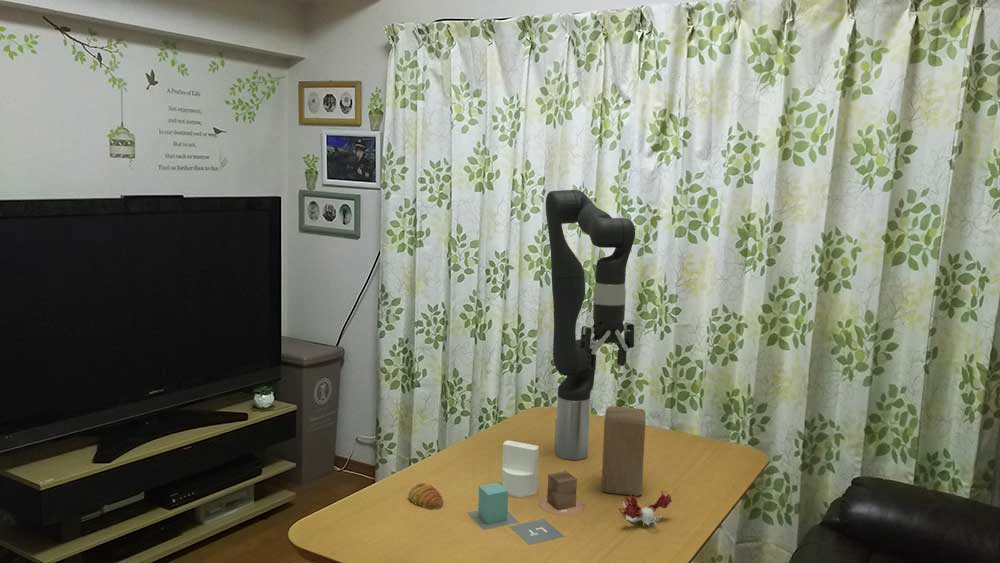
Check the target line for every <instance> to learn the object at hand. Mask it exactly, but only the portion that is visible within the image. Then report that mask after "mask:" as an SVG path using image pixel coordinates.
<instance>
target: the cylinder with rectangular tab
mask: <svg viewBox="0 0 1000 563" xmlns="http://www.w3.org/2000/svg"><path fill="white" fill-rule="evenodd" d="M539 450H540V448H539V445H535V444H529V443H525V442H519V441H513V440H506V441H504V442H503V444H502V469H501V470H502V474H501V475H502V476H501V485H502V486H503V487H504V488H505V489H506V490H508V496H511V497H518V498H519V497H520V498H524V497H531V496H533V495H535V494H536V493H537V492H538V487H539V486H538V484H539V481H538V480H539V454H540V452H539Z"/></svg>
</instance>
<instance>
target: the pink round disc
mask: <svg viewBox="0 0 1000 563" xmlns="http://www.w3.org/2000/svg"><path fill="white" fill-rule="evenodd" d="M538 506H539V508H540V509H541V510H542V511H544V512H546V513H547V514H551V515H555V516H574V515H577V514H580V513H582V512H583V511H584V510H585V503H584V501H583V500H581V498H579V497H576V507H572V508H567V509H563V510H557V509H555V508H554V507H553V506H552V505H550V504H549V503H548V502H547V495H545V496H543V497H541V498H540V499H539V501H538Z"/></svg>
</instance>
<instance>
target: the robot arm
mask: <svg viewBox="0 0 1000 563" xmlns="http://www.w3.org/2000/svg"><path fill="white" fill-rule="evenodd" d="M545 215H546V216H545V217H546V223H547V232H548V238H549V248H550V265H551V266H550V268H551V272H550V273H551V276H550V278H551V290H552V292H551V293H552V302H553V344H552V358H553V363H554V367H555V369H556V371H557V372H558V373H559V375H562V376H565V379H564V380H563V381H562V382H561V383H560V384H559V385H558V387H557V403H556V405H557V408H556V412H557V413H556V418H555V421H554V422H555V423H554V449H553V450H554V451H555V455H556V457H559V458H560V459H564V460H568V461H578V460H579V461H580V460H584V459H586V458H587V457H588V456H589V437H590V436H589V434H590V432H589V431H590V416H591V415H590V414H591V413H590V412H591V411H590V410H591V409H590V408H591V407H590V405H591V393H592V390H593V387H594V384H595V375H596V368H597V367H596V366H597V354H596V353H597V352H598V350H599V348H602V346H603V345H604V344H605V345H606V344H610V343H611V344H615V345H616V347H617V348H618V349H617V354H616V355H617V357H616V358H617V359H616V364H617V365H618V366H621V367H624V366H625V364H626V363H627V353H628V350H629V349H632V348H633V349H634V347H635V325H634V324H633V323H630V322H626V321H625V314H626V313H625V312H626V293H627V292H626V290H627V289H626V275H627V273H626V271H627V264H628V261H629V257H630V255H631V252H632V251H631V250H632V248H633V245H634V242H635V238H636V227H635V224H634V223H633V221H632V220H631V219H629V218H626V217H612V216H611V215H610V214H609V213H608V212H606V211H604V210H602V209H600V208H598V207H597V206H596V205H595V204H594V202H593V201H592V200H591V199H590V198H589V197H588V196H587V194H585V193H584V192H583V191H581V190H578V189H564V190H562V189H561V190H551V191H549V192H548V193H547V195H546V197H545ZM563 224H565V225H566V224H567V225H568V224H578V227H579V228H580V230H581V231H582V232H583V233H585V234H586V235H588V237H589V239H590V242H591V244H592V245H594V246H595V247H598V248H601V249H602V248H603V249H604V248H607V249H613V248H614V251H613V252H612V254H611V255H608V256H603V257H600V258H599V259H597V261H596V265H595V283H594V284H595V285H594V289H593V310H592V319H593V320H592V321H593V325H592V326H584V325H583V326H582V327H581V329H580V330H581V332H580V339H577V336H576V328H577V320H578V318H579V314H580V312H581V310H582V306H583V304H584V301H585V297H586V278H585V269H584V266H583V265H582V263H581V262H580V260H579V259H578V257H577V256H576V254H575V253H574V252H573V251H572V248H570V245H569V244H568V242H567V240H566V238H565V233H564V231H563ZM624 321H625V323H624ZM622 333H623V335H622Z"/></svg>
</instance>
